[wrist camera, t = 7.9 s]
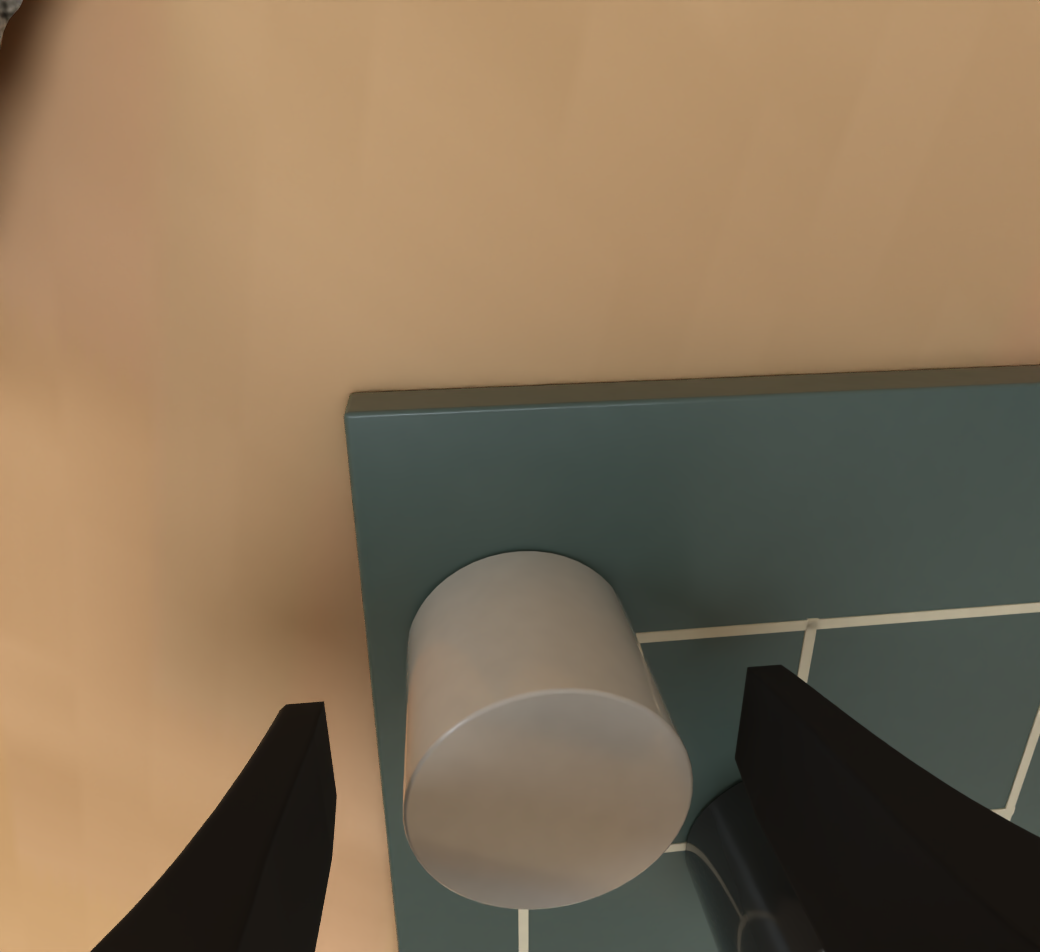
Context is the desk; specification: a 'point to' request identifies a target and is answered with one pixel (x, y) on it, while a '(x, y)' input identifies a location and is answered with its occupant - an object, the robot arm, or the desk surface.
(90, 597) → the desk surface
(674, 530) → the game board
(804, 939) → the dark grey cylinder
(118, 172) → the desk surface
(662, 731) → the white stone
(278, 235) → the desk surface
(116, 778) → the desk surface
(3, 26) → the rock sample
